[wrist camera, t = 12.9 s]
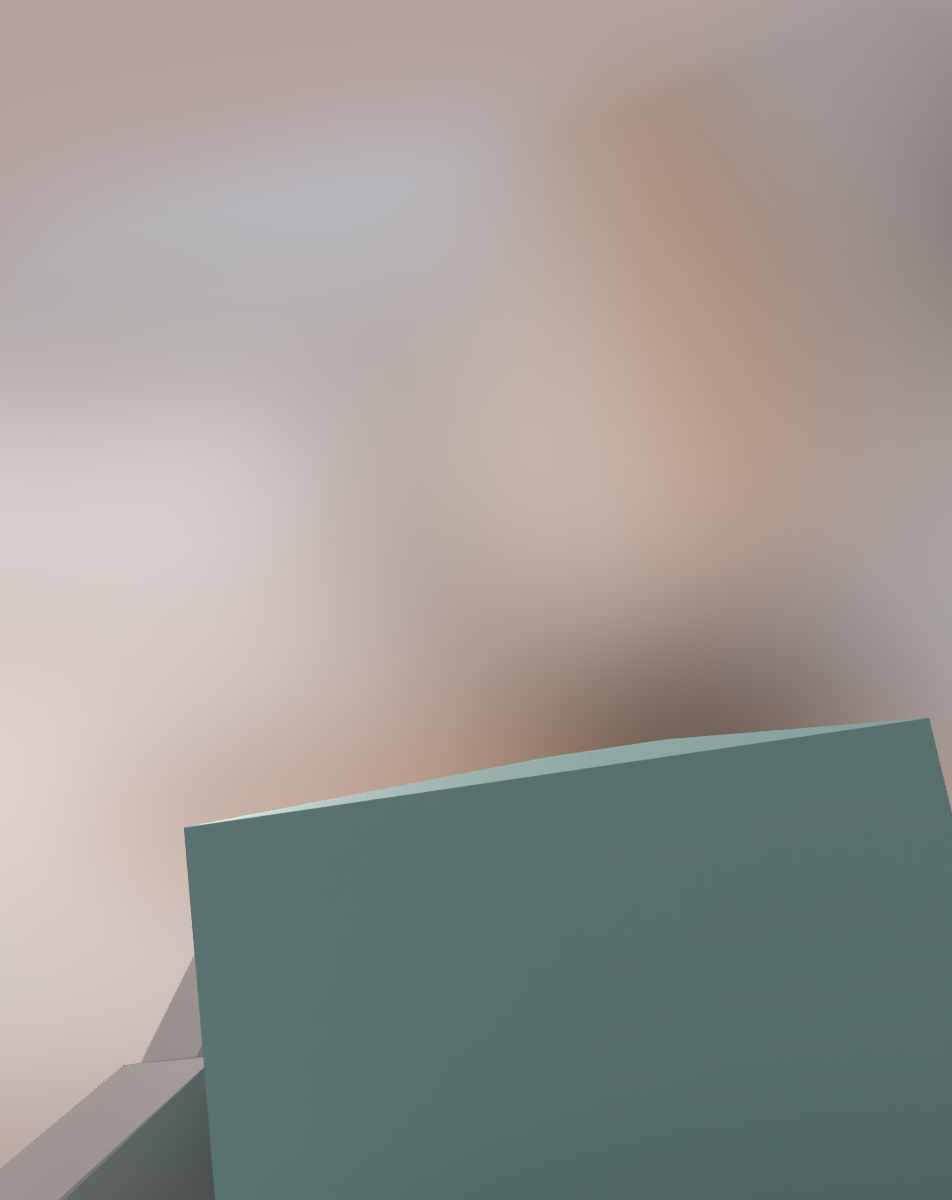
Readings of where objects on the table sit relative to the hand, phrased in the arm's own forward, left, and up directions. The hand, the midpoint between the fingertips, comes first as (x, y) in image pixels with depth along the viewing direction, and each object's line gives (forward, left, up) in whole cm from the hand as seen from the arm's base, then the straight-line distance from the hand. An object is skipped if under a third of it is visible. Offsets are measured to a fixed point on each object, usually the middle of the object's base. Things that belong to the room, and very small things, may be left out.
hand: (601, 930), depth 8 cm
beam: (0, +9, -3) cm, 10 cm away
